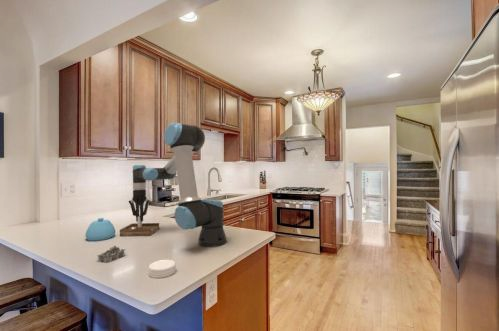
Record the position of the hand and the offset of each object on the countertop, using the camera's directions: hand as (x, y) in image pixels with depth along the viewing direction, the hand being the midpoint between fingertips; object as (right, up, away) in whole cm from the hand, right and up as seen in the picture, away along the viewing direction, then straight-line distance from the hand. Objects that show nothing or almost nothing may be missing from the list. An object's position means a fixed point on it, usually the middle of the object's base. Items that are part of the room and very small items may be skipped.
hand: (139, 226), depth 155 cm
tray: (+1, -4, 0) cm, 4 cm away
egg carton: (+7, -4, -43) cm, 44 cm away
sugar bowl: (-18, -4, -11) cm, 21 cm away
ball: (-5, -4, 0) cm, 6 cm away
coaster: (+35, -4, -59) cm, 69 cm away
